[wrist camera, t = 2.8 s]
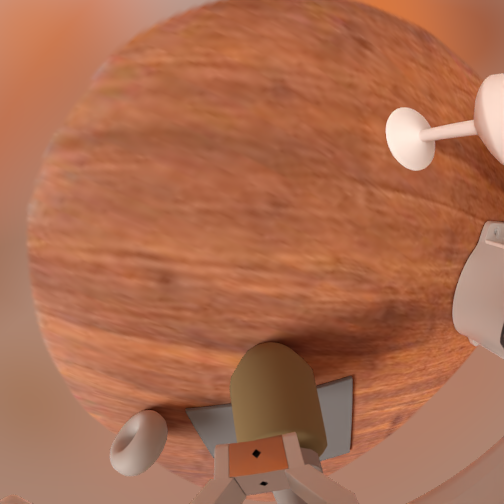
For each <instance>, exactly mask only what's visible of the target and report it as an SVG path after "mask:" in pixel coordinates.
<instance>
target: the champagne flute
mask: <svg viewBox="0 0 504 504" xmlns="http://www.w3.org/2000/svg"><path fill="white" fill-rule="evenodd" d="M471 135H479V137H480V139H481V140H482V141H483V143H484V144H485V146H486V147H487V149H488V150H489V151H490V153H491V154H492V155H493V156H494V157H495V158H496V159H497V160H498V161H499V162H500V163H501V164H502V165H504V73H502V74H495V75H490V76H489V77H487V78H486V79H485V80H484V81H483V83H482V84H481V86H480V88H479V90H478V93H477V96H476V100H475V109H474V120H469V121H464V122H459V123H453V124H448V125H444V126H439V127H434V128H431V127H430V125H429V123H428V122H427V121H426V119H425V118H424V117H423V116H422V115H421V114H420V113H418V112H417V111H415V110H413V109H411V108H406V107H405V108H399V109H396V110H395V111H393V112H392V114H391V115H390V116H389V118H388V120H387V124H386V138H387V142H388V146H389V148H390V150H391V152H392V154H393V156H394V157H395V158H396V160H397V161H398V162H399V163H400V164H401V165H403V166H404V167H406V168H408V169H411V170H422V169H424V168H426V167H427V166H428V165H429V164H430V163H431V161H432V159H433V157H434V153H435V140H441V139H448V138H455V137H462V136H471Z"/></svg>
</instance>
